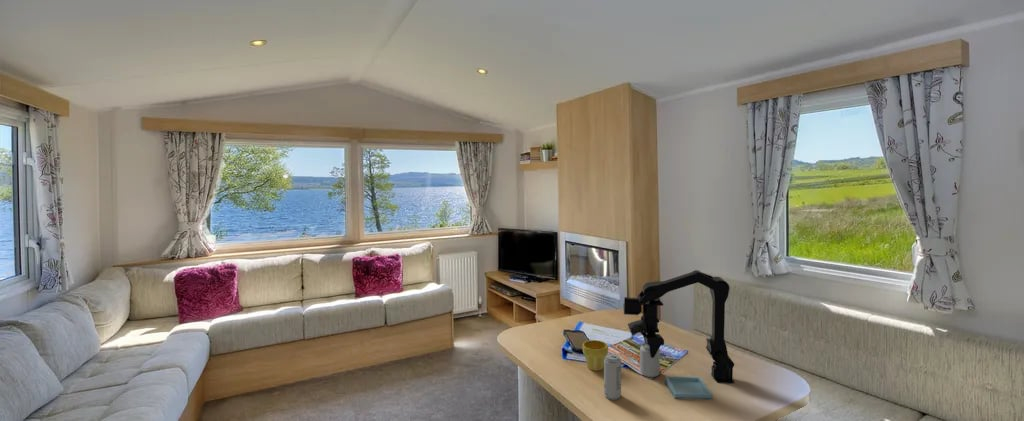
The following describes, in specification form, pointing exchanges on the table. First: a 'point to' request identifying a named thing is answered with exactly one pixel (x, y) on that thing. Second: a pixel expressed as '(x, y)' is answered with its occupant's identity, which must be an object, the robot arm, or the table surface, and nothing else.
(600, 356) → the plant pot
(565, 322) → the table surface
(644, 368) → the can
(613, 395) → the energy drink can
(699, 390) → the tray
